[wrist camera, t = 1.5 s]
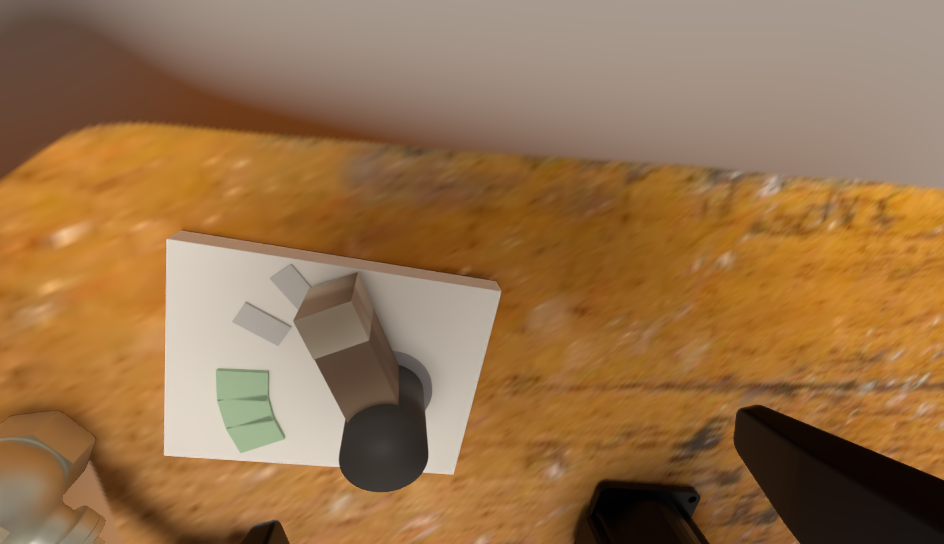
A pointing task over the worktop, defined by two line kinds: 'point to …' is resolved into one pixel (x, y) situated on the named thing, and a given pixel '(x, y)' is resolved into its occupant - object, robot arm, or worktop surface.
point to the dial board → (304, 350)
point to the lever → (365, 386)
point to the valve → (44, 481)
